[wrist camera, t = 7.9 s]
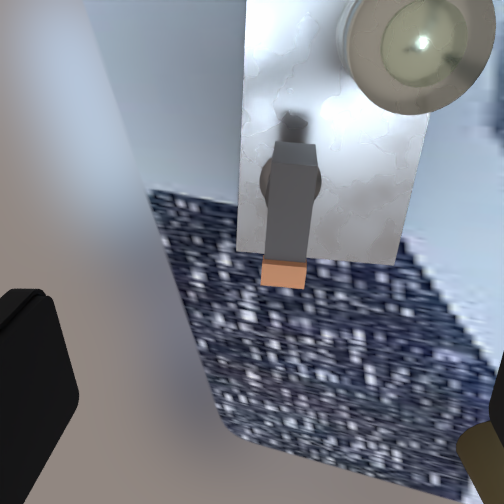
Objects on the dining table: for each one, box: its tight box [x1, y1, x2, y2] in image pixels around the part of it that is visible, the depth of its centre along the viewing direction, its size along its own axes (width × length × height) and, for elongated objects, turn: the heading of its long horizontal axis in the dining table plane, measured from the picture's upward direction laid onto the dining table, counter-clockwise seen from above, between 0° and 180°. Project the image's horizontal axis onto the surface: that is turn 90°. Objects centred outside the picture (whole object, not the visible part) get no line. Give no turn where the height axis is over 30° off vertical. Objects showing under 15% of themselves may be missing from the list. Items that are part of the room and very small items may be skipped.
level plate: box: [236, 0, 496, 265], centre depth 20 cm, size 26×10×9 cm, turn 177°
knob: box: [261, 141, 318, 289], centre depth 23 cm, size 6×3×6 cm, turn 177°
